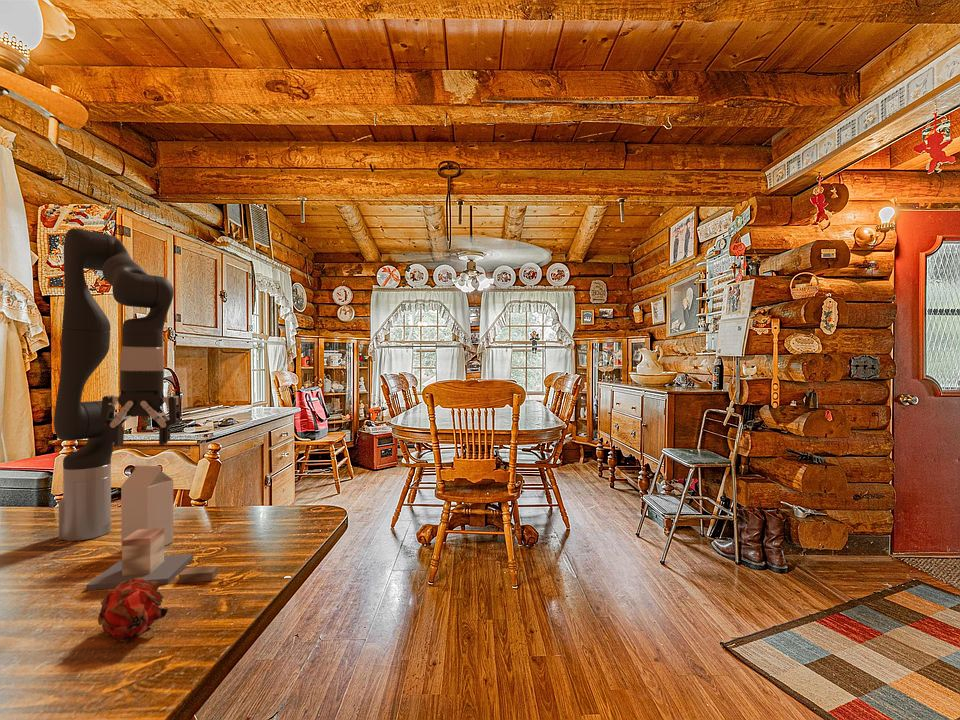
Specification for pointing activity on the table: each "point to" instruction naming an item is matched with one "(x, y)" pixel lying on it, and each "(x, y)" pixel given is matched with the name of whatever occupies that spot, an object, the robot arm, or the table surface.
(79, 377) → the robot arm
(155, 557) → the pinkish tan block
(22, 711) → the table surface
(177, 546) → the table surface
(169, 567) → the charcoal mat
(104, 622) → the dragon fruit
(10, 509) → the table surface
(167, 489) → the milk carton
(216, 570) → the block
